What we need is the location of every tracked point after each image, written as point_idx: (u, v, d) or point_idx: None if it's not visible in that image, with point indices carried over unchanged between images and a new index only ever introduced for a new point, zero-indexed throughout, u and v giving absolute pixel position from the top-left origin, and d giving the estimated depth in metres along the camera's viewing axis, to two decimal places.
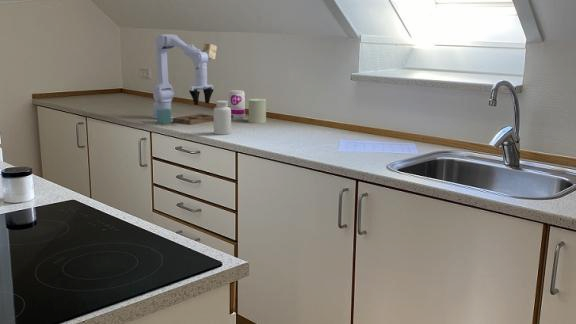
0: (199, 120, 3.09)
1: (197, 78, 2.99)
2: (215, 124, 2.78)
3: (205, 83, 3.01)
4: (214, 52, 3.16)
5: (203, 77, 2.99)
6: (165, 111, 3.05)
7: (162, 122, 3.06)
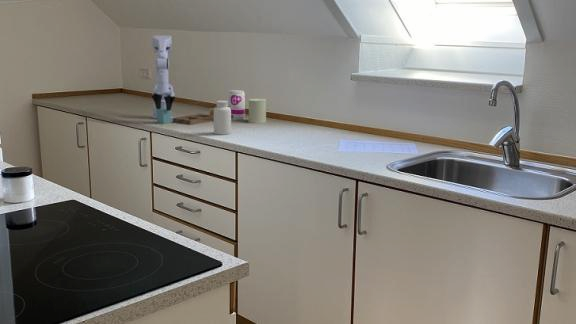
0: (199, 120, 3.09)
1: None
2: (215, 124, 2.78)
3: (158, 89, 3.03)
4: None
5: (157, 83, 3.03)
6: (165, 111, 3.05)
7: (162, 122, 3.06)
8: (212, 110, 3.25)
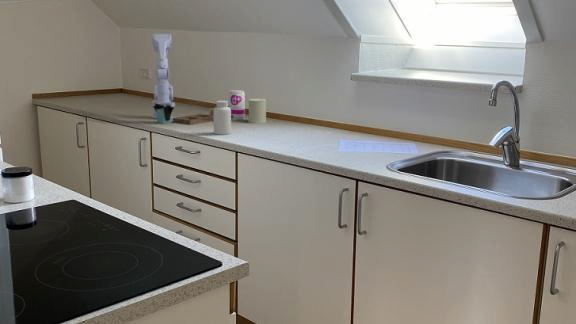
0: (199, 120, 3.09)
1: None
2: (215, 124, 2.78)
3: (159, 99, 3.04)
4: None
5: (157, 93, 3.04)
6: None
7: (162, 122, 3.06)
8: (212, 110, 3.25)
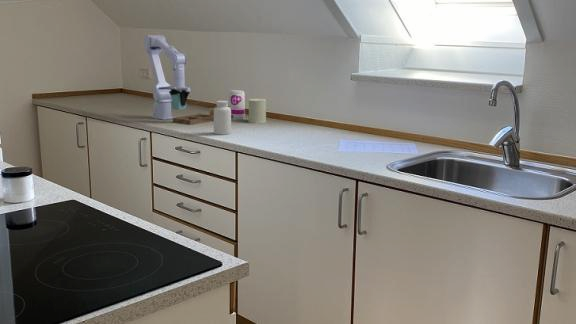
0: (199, 120, 3.09)
1: None
2: (215, 124, 2.78)
3: (175, 84, 3.05)
4: None
5: (173, 78, 3.05)
6: None
7: (177, 107, 3.06)
8: (212, 110, 3.25)
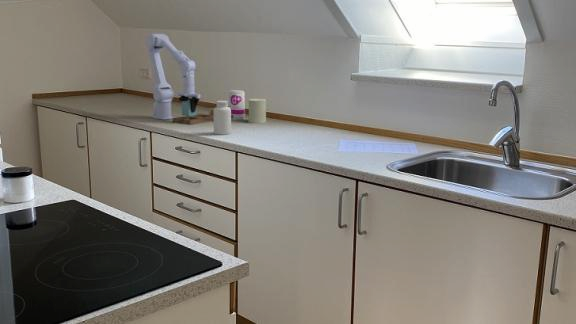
0: (199, 120, 3.09)
1: None
2: (215, 124, 2.78)
3: (185, 91, 3.07)
4: None
5: (183, 85, 3.07)
6: None
7: (187, 114, 3.09)
8: (212, 110, 3.25)
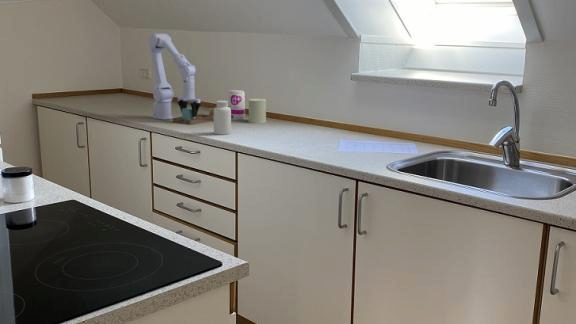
0: (199, 120, 3.09)
1: None
2: (215, 124, 2.78)
3: (185, 96, 3.08)
4: None
5: (183, 89, 3.08)
6: (191, 110, 3.09)
7: None
8: (212, 110, 3.25)
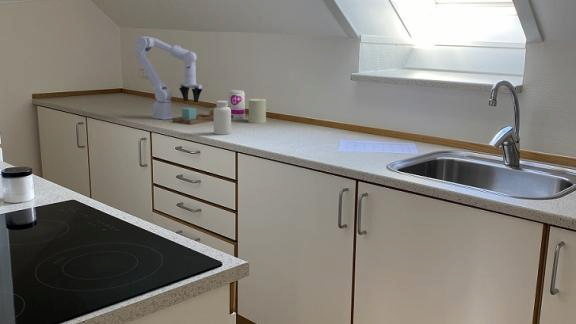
0: (199, 120, 3.09)
1: None
2: (215, 124, 2.78)
3: (186, 81, 3.14)
4: None
5: (185, 75, 3.15)
6: (191, 110, 3.09)
7: None
8: (212, 110, 3.25)
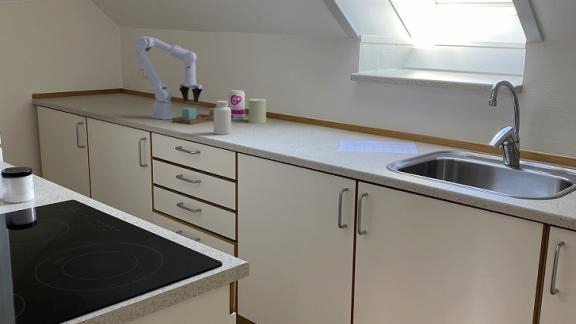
0: (199, 120, 3.09)
1: None
2: (215, 124, 2.78)
3: (186, 81, 3.14)
4: None
5: (185, 75, 3.15)
6: (191, 110, 3.09)
7: None
8: (212, 110, 3.25)
